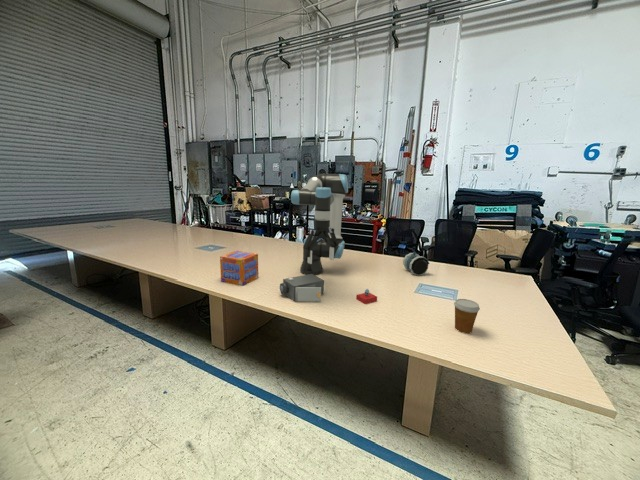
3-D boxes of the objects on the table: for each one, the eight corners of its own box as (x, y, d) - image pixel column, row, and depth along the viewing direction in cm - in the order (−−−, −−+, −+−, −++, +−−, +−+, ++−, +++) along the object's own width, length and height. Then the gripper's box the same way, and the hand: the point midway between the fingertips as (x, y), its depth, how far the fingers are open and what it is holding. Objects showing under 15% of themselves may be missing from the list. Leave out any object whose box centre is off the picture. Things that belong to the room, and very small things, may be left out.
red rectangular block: (364, 304, 139) (365, 292, 138) (356, 299, 145) (356, 288, 144) (376, 301, 143) (377, 290, 142) (368, 297, 149) (368, 285, 148)
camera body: (311, 287, 159) (312, 272, 158) (323, 294, 150) (324, 278, 148) (278, 294, 148) (278, 278, 146) (288, 302, 138) (288, 285, 136)
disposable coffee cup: (446, 324, 122) (449, 298, 119) (467, 323, 123) (471, 298, 120) (458, 335, 113) (462, 308, 110) (481, 335, 114) (485, 308, 111)
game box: (237, 274, 177) (237, 250, 174) (258, 278, 172) (258, 253, 169) (220, 282, 163) (219, 256, 160) (242, 286, 158) (242, 259, 154)
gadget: (429, 276, 186) (431, 254, 183) (411, 276, 183) (413, 254, 180) (418, 269, 200) (420, 248, 197) (401, 270, 197) (403, 249, 194)
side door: (320, 300, 141) (321, 287, 140) (320, 301, 139) (321, 288, 138) (295, 300, 140) (295, 287, 139) (295, 301, 138) (295, 288, 137)
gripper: (337, 217, 147) (335, 256, 151) (296, 219, 132) (295, 262, 137) (346, 219, 141) (344, 259, 145) (305, 221, 126) (304, 266, 131)
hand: (320, 261), depth 141 cm, fingers open, 13 cm apart
